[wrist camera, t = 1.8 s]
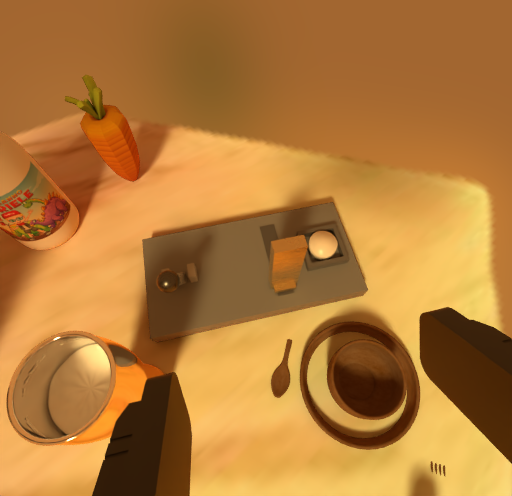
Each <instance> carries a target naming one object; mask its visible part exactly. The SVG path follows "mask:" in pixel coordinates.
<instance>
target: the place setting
mask: <svg viewBox="0 0 512 496" xmlns="http://www.w3.org/2000/svg"><path fill="white" fill-rule="evenodd" d="M342 332H359V333H363V334H366V335H369V336H371V337H373V338H375V339H377V340H379V341H380V342H381V343H383V344H384V345H385V346H386V347H385V346H384V345H382V344H380V343H378V342H375V341H372V340H365V339H361V340H354V341H351V342H349V343H347V344H345V345H344V346H343V347H341V348H340V349H339V350H338V351H337V352H336V353H335V354H334V356H333V357H332V359H331V361H330V363H329V366H328V370H327V382H328V387H329V390H330V393H331V395H332V397H333V399H334V400H335V401H336V403H337V404H338V405H339V406H340V407H341V408H342V409H343V410H344V411H346V412H347V413H349V414H351V415H352V416H355V417H358V418H362V419H369V420H379V419H384V418H386V417H389V416H391V415H392V414H394V413H395V412H396V411H397V410H398V409H399V408H400V406H401V405H402V403H403V401H404V399H405V395H406V390H407V399H406V405H405V408H404V411H403V413H402V416H401V417H400V419H399V420H398V422H397V423H396V424H395V425H394V426H393V427H392V428H391V429H390V430H389V431H387V432H385V433H384V434H382V435H379V436H377V437H372V438H355V437H350V436H347V435H345V434H342V433H340V432H339V431H337V430H335V429H334V428H332V427H331V426H330V425H329V424H328V423H326V422H325V421H324V420H323V418H322V417H321V416H320V415H319V413H318V412H317V410H316V409H315V407H314V405H313V403H312V401H311V398H310V395H309V391H308V386H307V370H308V365H309V361H310V359H311V356H312V354H313V353H314V351H315V349H316V348H317V347H318V346H319V345H320V344H321V343H322V342H323V341H324V340H325V339H327V338H328V337H330V336H332V335H335V334H338V333H342ZM291 344H292V340H290V339H288V340H287V344H286V349H285V354H284V358H283V361H282V363H281V365H280V366H279V367H278V368H277V369H276V370H275V372H274V374H273V376H272V380H271V386H272V391H273V394H274V396H275V397H277V398H280V397H281V396H282V395H283V394H284V393H285V392H286V390H287V389H288V387H289V383H290V374H289V370H288V367H287V362H288V356H289V352H290V348H291ZM300 386H301V392H302V396H303V399H304V402H305V405H306V407H307V409H308V411H309V413H310V414H311V416H312V418H313V419H314V421H315V422H316V423H317V424H318V425H319V427H320V428H321V429H322V430H323V431H325V432H326V433H327V434H328V435H329V436H331V437H332V438H333V439H335V440H337V441H339V442H340V443H342V444H345V445H347V446H350V447H354V448H358V449H367V450H370V449H379V448H383V447H386V446H389V445H391V444H393V443H395V442H396V441H398V440H399V439H400V438H402V437H403V436H404V435H405V434H406V433H407V431H408V430H409V429H410V428H411V426H412V424H413V423H414V420H415V418H416V416H417V413H418V409H419V403H420V386H419V380H418V376H417V372H416V370H415V367H414V365H413V363H412V361H411V359H410V357H409V355H408V354H407V352H406V351H405V350H404V348H403V347H402V346H401V345H400V344H399V343H398V342H397V341H396V340H395V339H394V338H393V337H392V336H390V335H389V334H388V333H386V332H385V331H383V330H381V329H379V328H377V327H375V326H372V325H369V324H366V323H361V322H343V323H338V324H335V325H332V326H330V327H328V328H326V329H324V330H323V331H322V332H320V333H319V334H318V335H317V336H316V337H315V338H314V339H313V340H312V341H311V343H310V344H309V346H308V347H307V349H306V351H305V354H304V356H303V359H302V363H301V368H300ZM431 470H432V473H433V463H432V461H431ZM435 470H436V474H437V464H436V463H435ZM439 470H440V475H441V465H440V464H439ZM443 471H444V476H445V466H443Z"/></svg>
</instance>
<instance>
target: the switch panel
mask: <svg viewBox="0 0 512 496" xmlns="http://www.w3.org/2000/svg"><path fill="white" fill-rule="evenodd" d="M317 231H327V232H330V233H331V234H333V235H334V236H335V238H336V240H337V243H338V246H337V249H336V251H335V253H334V255H333V256H332V257H331V258H330V259H327V260H318V259H316V258H314V257H313V256H312V255H311V254H310V253H309V251H308V248H307V251H306V255H305V258H304V262H303V265H302V268H301V272H300V275H299V279H298V282H297V283H296V289H293V290H288V291H284V292H279V293H275V292H274V288H273V289H271V287H270V284H269V280H268V276H269V262H270V248H271V241H275V240H280V239H285V238H290V237H295V236H300V235H304V236H305V239H306V242H307V245H308V243H309V240H310V237H311V236H312V235H313V234H314V233H315V232H317ZM142 241H143V254H144V266H145V279H146V291H147V304H148V316H149V329H150V339H151V340H153V341H154V342H160V341H164V340H169V339H173V338H178V337H182V336H186V335H191V334H195V333H200V332H204V331H208V330H213V329H217V328H222V327H226V326H231V325H235V324H239V323H244V322H248V321H253V320H257V319H262V318H266V317H270V316H275V315H279V314H284V313H288V312H292V311H297V310H301V309H306V308H310V307H315V306H319V305H323V304H328V303H332V302H337V301H341V300H346V299H350V298H354V297H359V296H363V295H364V294H365V293H366V292H367V290H368V288H367V286H366V283H365V281H364V278H363V276H362V273H361V271H360V268H359V266H358V263H357V261H356V258H355V256H354V253H353V251H352V248H351V246H350V243H349V241H348V238H347V236H346V233H345V231H344V228H343V226H342V223H341V221H340V218H339V216H338V213H337V211H336V208H335V206H334V203H333V202H331V203H326V204H321V205H316V206H311V207H306V208H300V209H295V210H290V211H285V212H280V213H275V214H270V215H265V216H260V217H255V218H250V219H244V220H239V221H234V222H229V223H224V224H219V225H214V226H209V227H204V228H199V229H194V230H189V231H183V232H178V233H173V234H168V235H163V236H158V237H153V238H148V239H143V240H142ZM166 270H172V271H174V272H176V273H181V272H186V277H187V283H185V284H182V285H180V286H179V287H178V288H177V289H176V290H175V291H174V292H171V293H165V292H163V291H161V290H160V289H159V288H158V286H157V277H158V276H159V274H160V273H161V272H163V271H166Z"/></svg>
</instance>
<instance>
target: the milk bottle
mask: <svg viewBox="0 0 512 496" xmlns="http://www.w3.org/2000/svg"><path fill="white" fill-rule="evenodd" d="M78 225H79V212H78V210H77V208H76V206H75V205H74V204H73V203H72V201H71V200H70V199H69V198H68V197H67V196H66V195H65V193H64V192H63V191H62V190H61V189H60V188H59V187H58V186H57V184H56V183H55V182H54V181H53V180H52V179H51V178H50V177H49V175H48V174H47V173H46V172H45V171H44V170H43V169H42V168H41V167H40V165H39V164H38V163H37V162H36V161H35V160H34V159H33V158H32V157H31V156H30V155H29V154H28V153H27V152H26V151H25V149H24V148H23V147H22V146H20V145H19V144H18V143H17V142H16V141H15V140H14V139H12V138H11V137H9V136H8V135H7V134H5V133H3V132H2V131H0V228H1V229H2V230H3V231H5V232H6V233H7V234H9V235H10V236H12V237H13V238H14V239H16V240H17V241H19V242H20V243H22V244H23V245H25V246H26V247H28V248H31V249H35V250H48V249H52V248H56V247H58V246H60V245H62V244H63V243H65V242H66V241H68V240H69V239H70V238H71V237H72V236H73V234H74V233H75V231H76V230H77V228H78Z"/></svg>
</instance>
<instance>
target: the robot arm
mask: <svg viewBox="0 0 512 496" xmlns="http://www.w3.org/2000/svg"><path fill="white" fill-rule="evenodd" d="M420 360H421V364H422V367H423V369H424V371H425V373H426V374H427V376H428V377H429V378H430V380H431V381H432V382H433V383H434V384H435V385H436V386H437V387H438V388H439V389H440V390H441V391H442V392H443V393H444V394H445V395H446V396H447V397H448V398H449V399H450V400H451V401H452V402H453V403H454V404H455V405H456V406H457V408H458V409H459V410H460V411H461V412H462V413H463V414H464V415H465V416H466V417H467V418H468V419H469V420H470V421H471V422H472V423H473V424H474V425H475V426H476V427H477V428H478V429H479V430H480V431H481V432H482V433H483V434H484V435H485V436H486V438H487V439H488V440H489V441H490V442H491V443H492V444H493V445H494V446H495V447H496V448H497V449H498V450H499V451H500V452H501V453H502V454H503V455H504V456H505V457H506V458H507V459H508V460H509V461H510V462H511V463H512V339H511V338H510V337H508V336H507V335H505V334H503V333H502V332H500V331H499V330H497V329H496V328H494V327H491V326H488V325H486V324H483V323H480V322H477V321H475V320H469V319H467V318H466V317H464V316H463V315H461V314H460V313H458V312H457V311H455V310H454V309H452V308H449V307H446V308H442V309H438V310H434V311H430V312H425V313H422V314H421V316H420ZM191 446H192V432H191V423H190V418H189V414H188V410H187V407H186V404H185V400H184V397H183V394H182V390H181V387H180V384H179V380H178V377H177V375H176V373H175V372H173V373H169V374H164V375H160V376H156V377H152V378H148V379H147V380H146V382H145V386H144V390H143V394H142V398H141V400H140V401H136V402H132V403H129V404H128V405H127V407H126V408H125V409H124V411H123V412H122V413H121V415H120V416H119V418H118V419H117V420H116V423H115V426H114V429H113V432H112V435H111V438H110V443H109V444H108V448H107V451H106V454H105V460H103V463H102V466H101V469H100V473H99V476H98V479H97V482H96V485H95V488H94V491H93V495H92V496H189V494H190V470H191Z"/></svg>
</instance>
